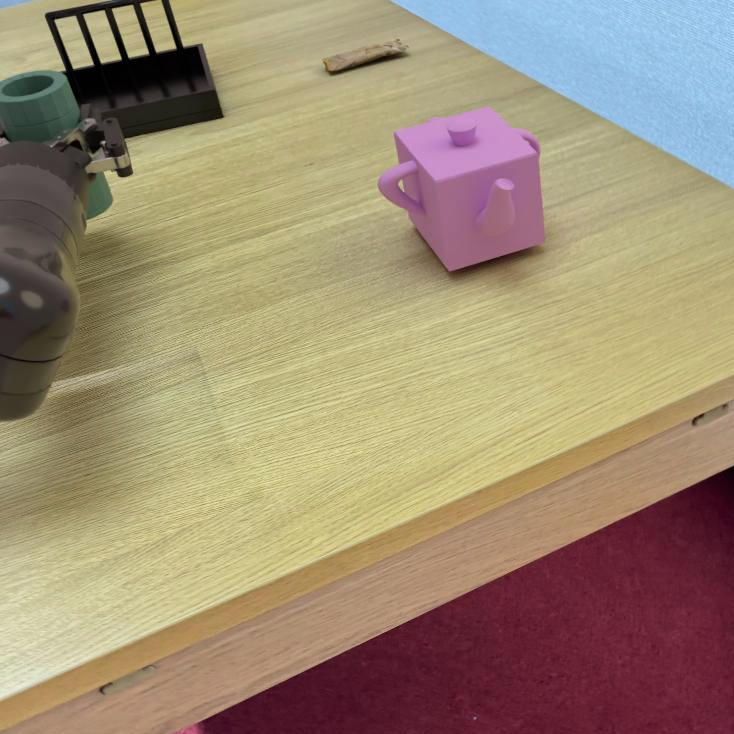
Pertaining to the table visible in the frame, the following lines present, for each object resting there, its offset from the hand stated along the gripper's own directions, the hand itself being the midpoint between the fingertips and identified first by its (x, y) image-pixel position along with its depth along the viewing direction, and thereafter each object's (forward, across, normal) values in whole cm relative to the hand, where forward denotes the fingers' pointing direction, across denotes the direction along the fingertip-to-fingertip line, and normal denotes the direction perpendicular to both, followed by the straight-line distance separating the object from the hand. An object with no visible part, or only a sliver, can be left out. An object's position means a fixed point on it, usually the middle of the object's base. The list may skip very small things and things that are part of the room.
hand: (50, 122), depth 88 cm
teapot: (-15, -32, +10) cm, 37 cm away
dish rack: (+27, -3, +10) cm, 29 cm away
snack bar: (+29, -28, +10) cm, 42 cm away
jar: (-2, 0, +6) cm, 7 cm away
